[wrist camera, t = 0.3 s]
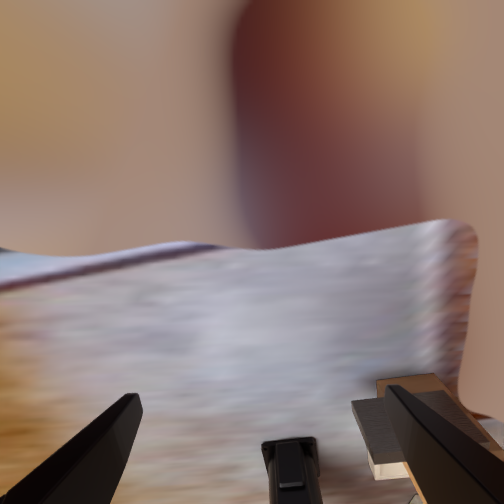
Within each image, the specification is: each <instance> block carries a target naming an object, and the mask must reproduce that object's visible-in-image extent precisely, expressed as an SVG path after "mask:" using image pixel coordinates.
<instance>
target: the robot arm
mask: <svg viewBox="0 0 504 504" xmlns="http://www.w3.org/2000/svg"><path fill="white" fill-rule="evenodd" d="M384 408H385V411H386V413H387V416H388V418H389V421H390V423H391V426H392V428H393V430H394V433H395V435H396V438H397V440H398V443H399V445H400V448H401V450H402V453H403V455H404V457H405V460H406V462H407V464H408V466H409V468H410V470H411V472H412V474H413V476H414V478H415V480H416V482H417V484H418V486H419V488H420V490H421V492H422V494H423V496H424V498H425V500H426V502H427V504H504V462H503V461H502V460H501V459H499V458H498V457H497V456H495V455H494V454H493V453H491V452H490V451H489V450H487V449H486V448H484V447H483V446H482V445H480V444H479V443H478V442H476V441H475V440H474V439H472V438H471V437H470V436H468V435H467V434H466V433H464V432H463V431H461V430H460V429H459V428H457V427H456V426H455V425H453V424H452V423H451V422H449V421H448V420H447V419H445V418H444V417H443V416H441V415H440V414H439V413H437V412H436V411H434V410H433V409H432V408H430V407H429V406H428V405H426V404H425V403H424V402H422V401H421V400H420V399H418V398H417V397H416V396H414V395H413V394H411V393H410V392H409V391H407V390H406V389H405V388H403V387H402V386H401V385H399V384H387V385H386V386H385V394H384ZM142 414H143V408H142V405H141V401H140V397H139V394H138V393H127V394H125V395H124V396H122V397H121V398H120V399H119V400H117V401H116V402H115V403H114V404H113V405H111V406H110V407H109V408H108V409H107V410H105V411H104V412H103V413H102V414H101V415H99V416H98V417H97V418H96V419H94V420H93V421H92V422H91V423H90V424H88V425H87V426H86V427H85V428H84V429H82V430H81V431H80V432H79V433H78V434H76V435H75V436H74V437H73V438H72V439H70V440H69V441H68V442H67V443H65V444H64V445H63V446H62V447H61V448H59V449H58V450H57V451H56V452H55V453H53V454H52V455H51V456H50V457H49V458H47V459H46V460H45V461H44V462H43V463H41V464H40V465H39V466H38V467H36V468H35V469H34V470H33V471H32V472H30V473H29V474H28V475H27V476H26V477H24V478H23V479H22V480H21V481H20V482H18V483H17V484H16V485H15V486H13V487H12V488H11V489H10V490H9V491H8V492H7V493H6V494H4V495H3V496H1V497H0V504H110V502H111V500H112V497H113V495H114V493H115V490H116V488H117V486H118V483H119V481H120V479H121V476H122V474H123V471H124V469H125V466H126V463H127V461H128V458H129V455H130V452H131V449H132V446H133V443H134V440H135V437H136V434H137V431H138V428H139V424H140V421H141V418H142ZM261 450H262V454H263V458H264V462H265V465H266V469H267V473H268V477H269V499H270V504H323V501H322V496H321V491H320V486H319V481H318V477H319V476H320V471H319V465H318V459H317V453H316V447H315V441H314V439H313V438H303V439H294V440H285V441H276V442H267V443H263V444H262V445H261Z"/></svg>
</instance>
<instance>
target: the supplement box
mask: <svg viewBox="0 0 504 504" xmlns="http://www.w3.org/2000/svg"><path fill="white" fill-rule="evenodd" d="M409 504H423V502H422V500H421V498H420V496H419V495H415V496H414V497H413V499H412V500H411V502H410V503H409Z"/></svg>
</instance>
